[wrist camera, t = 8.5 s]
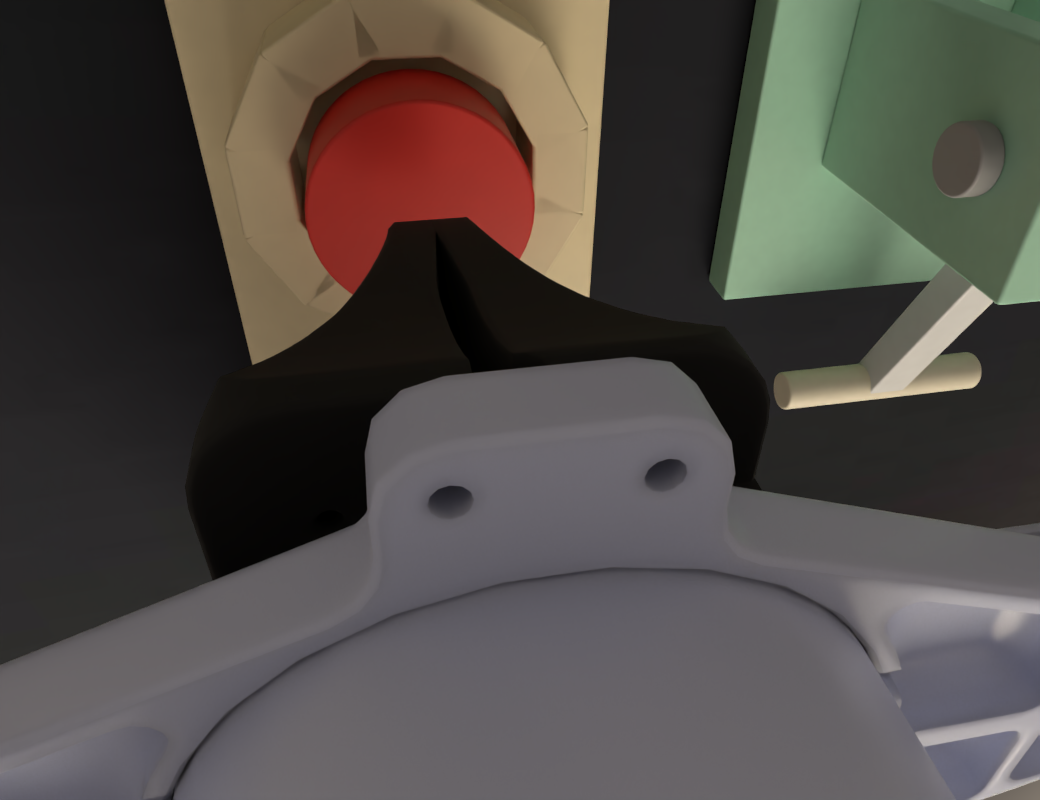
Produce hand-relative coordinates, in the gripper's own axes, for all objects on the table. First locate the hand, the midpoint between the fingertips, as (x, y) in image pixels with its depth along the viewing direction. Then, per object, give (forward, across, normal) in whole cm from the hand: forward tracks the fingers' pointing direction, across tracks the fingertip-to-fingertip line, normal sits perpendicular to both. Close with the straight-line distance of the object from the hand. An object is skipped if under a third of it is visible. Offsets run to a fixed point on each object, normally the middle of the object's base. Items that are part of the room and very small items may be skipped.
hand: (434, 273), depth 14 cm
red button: (+4, 0, 0) cm, 4 cm away
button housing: (+7, 0, +1) cm, 7 cm away
